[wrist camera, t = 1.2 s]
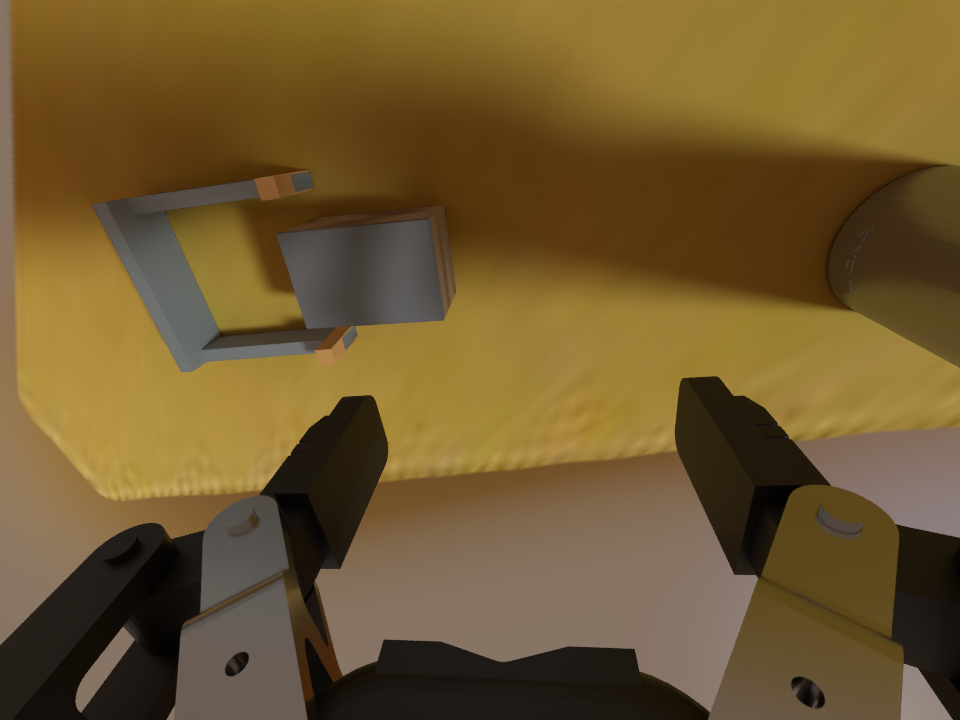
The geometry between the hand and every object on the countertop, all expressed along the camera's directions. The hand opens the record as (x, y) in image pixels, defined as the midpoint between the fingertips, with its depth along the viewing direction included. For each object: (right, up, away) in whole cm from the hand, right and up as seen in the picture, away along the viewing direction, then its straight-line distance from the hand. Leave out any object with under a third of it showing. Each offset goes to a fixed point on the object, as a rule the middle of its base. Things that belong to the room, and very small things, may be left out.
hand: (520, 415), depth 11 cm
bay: (-17, +8, +20) cm, 28 cm away
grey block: (-8, +9, +19) cm, 22 cm away
